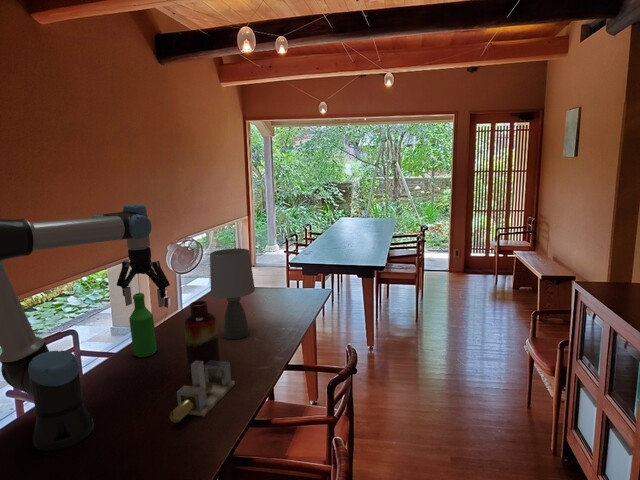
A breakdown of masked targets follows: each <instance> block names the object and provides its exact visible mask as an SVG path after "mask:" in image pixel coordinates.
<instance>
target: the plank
mask: <svg viewBox="0 0 640 480" xmlns="http://www.w3.org/2000/svg"><path fill="white" fill-rule="evenodd" d="M205 382H206V380H205ZM211 385H212V390H211V391H210V392H209V393H208V394H207V397H206V401H207V406H206V407H205V408H204V409H203V410H202V411H201V412H196V406H195V407H194V408H193V409H192V410H191V411H190V412H189V413H188V414H187V415H191V416H199V417H205V416H206V415H207V414H209V412H210V411H211V410H212V409H213V408H214V407H215V406H216V405H217V404H218V403H219V402H220V400H222V398H223V397H224V396H225V395H226V394H227V393H229V391H230V390H231V389H232V388H233V387H234V386H235V385H236V382H235V380H231V381H230V382H229V383H228V384H227V385H226V386H222V381H212V382H211Z"/></svg>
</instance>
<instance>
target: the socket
mask: <svg viewBox="0 0 640 480" xmlns="http://www.w3.org/2000/svg"><path fill="white" fill-rule="evenodd" d="M230 363H231V362H230V361H224V360H220V361H215V360H210V361H208V362H207V363H206V364H205V365H204V370H205V381H207V382H210V383H211V382H212V381H222V386H226V385H227V384H228V383H229V382H230V381H232V374H231V364H230Z"/></svg>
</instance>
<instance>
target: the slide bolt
mask: <svg viewBox="0 0 640 480" xmlns="http://www.w3.org/2000/svg"><path fill="white" fill-rule="evenodd" d="M190 373H191V382H192V386H194V387H203V388H205V390H206V397H207V394H208V393H209V392H210V391H211V390H212V385H211V383H210V382H207V381H206V380H205V375H204V364H203V361H195V362H193V363H192V364H191V370H190ZM205 381H206V382H205ZM195 406H196V402H195V397H191V396H188V397H187V398H186V399H185V400H184V401H183V402H182V403H181V404H180V405H178V404H177V406H176V407H175V408H174V409H173V410H172V411H171V412H169V419H170V422H172V423H175V424H178V423H180V422H181V421H182V420H183V419H184V418H185V416H187V415H189V414H188V413H189V412H190V411H191V410H192V409H193V408H194V407H195Z"/></svg>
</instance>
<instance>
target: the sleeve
mask: <svg viewBox="0 0 640 480" xmlns="http://www.w3.org/2000/svg"><path fill="white" fill-rule="evenodd" d="M188 396H191V397H195V402H196V412H201V411H202V410H203V409H204V408H205V407H206V406H207V401H206V390H205V388H203V387H194V386H193V385H182V386H181V387H180V388H179V389H178V390H177V391H176V397H177V398H176V399H177V406H178V405H180V404H181V403H182V402H183V401H184V400H185V399H186V398H187V397H188Z"/></svg>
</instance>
